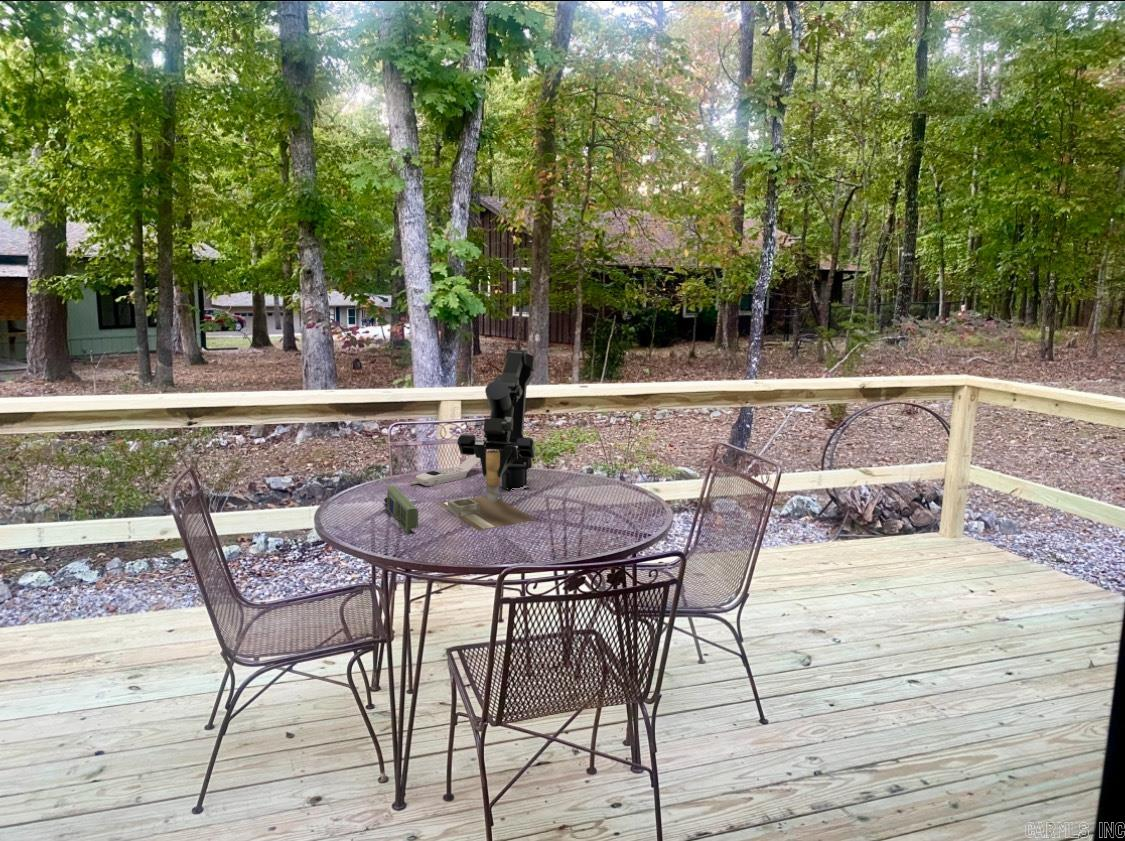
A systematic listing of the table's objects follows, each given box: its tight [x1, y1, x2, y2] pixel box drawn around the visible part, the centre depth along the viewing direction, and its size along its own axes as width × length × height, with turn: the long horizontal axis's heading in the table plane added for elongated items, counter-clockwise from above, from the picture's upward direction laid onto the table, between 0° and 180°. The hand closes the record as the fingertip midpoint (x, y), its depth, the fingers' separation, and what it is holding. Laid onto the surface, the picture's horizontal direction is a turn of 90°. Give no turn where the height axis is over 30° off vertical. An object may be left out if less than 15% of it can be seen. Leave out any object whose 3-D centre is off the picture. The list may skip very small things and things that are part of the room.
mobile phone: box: [409, 454, 481, 487], centre depth 220 cm, size 6×6×25 cm
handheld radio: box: [383, 484, 419, 535], centre depth 186 cm, size 7×3×25 cm
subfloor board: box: [438, 495, 536, 532], centre depth 188 cm, size 16×23×4 cm
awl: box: [485, 450, 501, 501], centre depth 179 cm, size 3×3×12 cm
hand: (491, 476), depth 177 cm, fingers closed on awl, 3 cm apart
